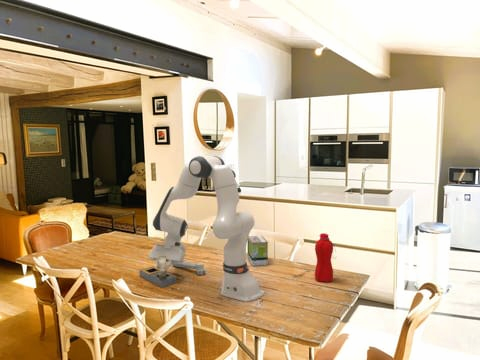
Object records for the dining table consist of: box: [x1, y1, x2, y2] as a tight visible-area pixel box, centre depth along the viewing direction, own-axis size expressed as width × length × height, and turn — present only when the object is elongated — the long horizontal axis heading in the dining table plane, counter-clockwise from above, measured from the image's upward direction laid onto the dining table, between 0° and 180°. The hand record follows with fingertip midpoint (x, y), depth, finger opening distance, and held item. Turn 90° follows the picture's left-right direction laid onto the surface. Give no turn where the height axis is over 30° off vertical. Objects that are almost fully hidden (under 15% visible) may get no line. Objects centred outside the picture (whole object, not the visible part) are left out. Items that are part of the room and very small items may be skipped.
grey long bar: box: [172, 261, 207, 276], centre depth 212 cm, size 5×7×25 cm
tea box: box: [247, 235, 269, 267], centre depth 224 cm, size 15×10×15 cm, turn 9°
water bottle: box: [314, 232, 337, 283], centre depth 193 cm, size 9×11×25 cm
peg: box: [158, 256, 167, 279], centre depth 195 cm, size 4×4×14 cm
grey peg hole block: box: [138, 265, 177, 288], centre depth 199 cm, size 23×9×4 cm, turn 44°
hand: (161, 268), depth 194 cm, fingers closed on peg, 4 cm apart
